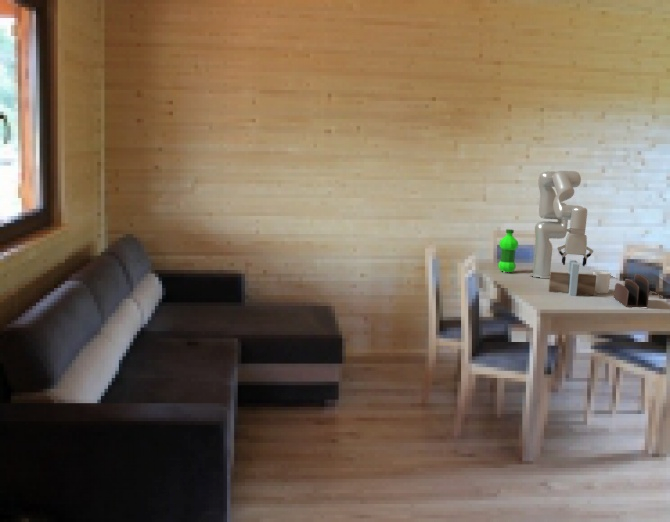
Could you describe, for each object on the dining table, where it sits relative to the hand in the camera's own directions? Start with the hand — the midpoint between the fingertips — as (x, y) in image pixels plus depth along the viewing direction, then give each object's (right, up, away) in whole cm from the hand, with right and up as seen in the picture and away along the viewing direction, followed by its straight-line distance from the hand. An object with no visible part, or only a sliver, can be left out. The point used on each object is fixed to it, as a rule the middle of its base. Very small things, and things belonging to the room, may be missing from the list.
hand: (573, 265), depth 356 cm
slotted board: (-1, -14, +2) cm, 14 cm away
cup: (+16, -14, +10) cm, 24 cm away
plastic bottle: (-21, -5, +54) cm, 58 cm away
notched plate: (-1, -14, +2) cm, 14 cm away
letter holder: (+22, -19, -16) cm, 33 cm away
